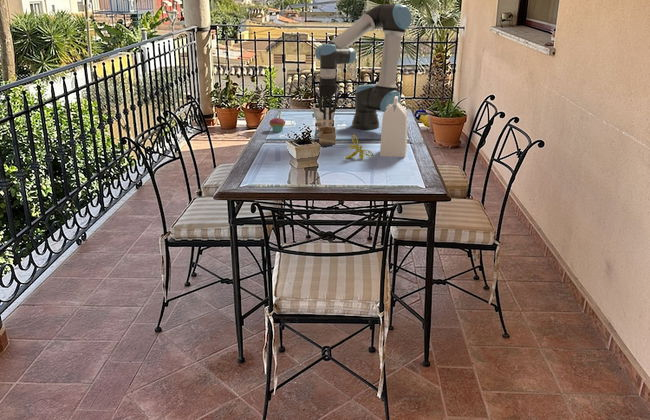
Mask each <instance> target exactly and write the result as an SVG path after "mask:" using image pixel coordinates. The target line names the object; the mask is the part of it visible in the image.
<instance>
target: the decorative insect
mask: <svg viewBox="0 0 650 420" xmlns="http://www.w3.org/2000/svg"><path fill="white" fill-rule="evenodd" d="M351 141H352V143H353V144H350V145H349V149H351V150H354V151H353V152H352V153H351V154H349V155H347V156H345V159H347V160H348V159H350V158H353V157H355V156H356V155H358V157H359V158H360V160H363V159H364V157H365V156H367V157H373V156H374V152H373V151H370V150H367V149H363V146H362V145H360V146H359V141H358V137H357V136H356V135H355V134H352V135H351ZM358 153H359V154H358Z"/></svg>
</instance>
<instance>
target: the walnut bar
mask: <svg viewBox="0 0 650 420" xmlns="http://www.w3.org/2000/svg"><path fill="white" fill-rule="evenodd" d="M322 127H323V134H332V127H333V119H332V118H331V120H329V127H326V120H324V119H322Z"/></svg>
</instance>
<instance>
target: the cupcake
mask: <svg viewBox="0 0 650 420" xmlns="http://www.w3.org/2000/svg"><path fill="white" fill-rule="evenodd" d="M281 113H282V110H281V109H280V110H279V114H278V117H274V118H272V119H271V120H269V122H268V123H269V126H271V128H272V129H271V130H272V131H273V133H281V132H282V131H283V129H284V126H285V125H286V121H285V120H284V119H282V118H281Z"/></svg>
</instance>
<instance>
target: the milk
mask: <svg viewBox="0 0 650 420" xmlns="http://www.w3.org/2000/svg"><path fill="white" fill-rule="evenodd" d="M406 151H408V111H407V110H406V108H405V107H404V106H403V105H402V104H401V102H400V103H399V102H398V96H395V98H394V103H393V104H392V105H391V104H389V105H388V106H387V107H386V110H385V112H383V115H382V121H381V133H380V150H379V157H392V156H394V158H395V157H396V158H406V154H407V152H406Z"/></svg>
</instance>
